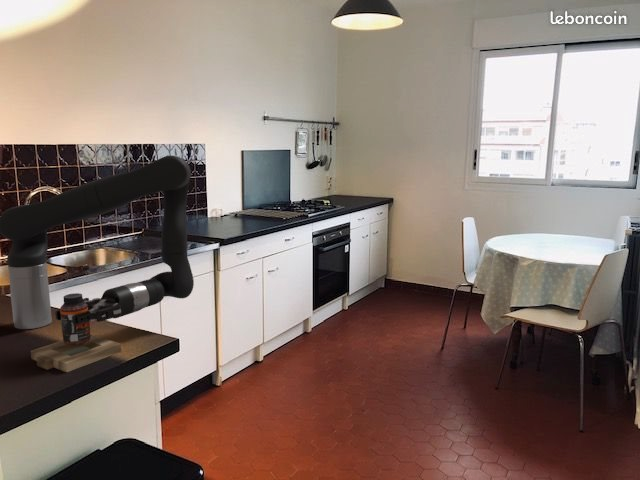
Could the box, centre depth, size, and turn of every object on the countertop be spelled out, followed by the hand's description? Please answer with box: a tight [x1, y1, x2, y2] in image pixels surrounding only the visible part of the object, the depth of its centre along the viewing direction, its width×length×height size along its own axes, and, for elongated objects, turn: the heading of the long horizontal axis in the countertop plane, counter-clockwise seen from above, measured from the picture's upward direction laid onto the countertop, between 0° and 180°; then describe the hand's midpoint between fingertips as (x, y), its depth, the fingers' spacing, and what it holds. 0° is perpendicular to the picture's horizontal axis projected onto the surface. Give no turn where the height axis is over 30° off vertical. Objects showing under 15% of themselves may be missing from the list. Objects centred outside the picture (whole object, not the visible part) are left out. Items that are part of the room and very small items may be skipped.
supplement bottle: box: [59, 292, 92, 345], centre depth 122 cm, size 6×6×11 cm
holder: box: [30, 334, 122, 373], centre depth 123 cm, size 14×16×2 cm
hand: (65, 318), depth 120 cm, fingers closed on supplement bottle, 6 cm apart
